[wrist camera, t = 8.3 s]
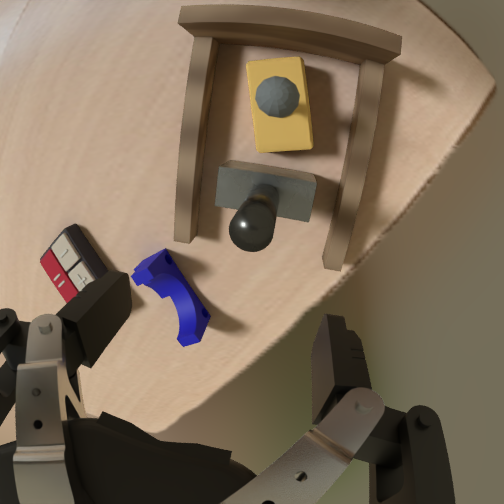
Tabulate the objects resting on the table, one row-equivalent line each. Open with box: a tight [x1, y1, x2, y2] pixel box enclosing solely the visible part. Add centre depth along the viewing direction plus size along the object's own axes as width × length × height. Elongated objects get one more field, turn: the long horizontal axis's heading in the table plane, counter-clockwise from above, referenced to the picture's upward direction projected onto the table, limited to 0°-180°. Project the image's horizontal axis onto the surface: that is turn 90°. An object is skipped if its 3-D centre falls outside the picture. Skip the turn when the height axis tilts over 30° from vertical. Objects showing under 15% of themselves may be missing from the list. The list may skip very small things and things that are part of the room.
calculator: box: [40, 224, 108, 303], centre depth 41 cm, size 11×4×15 cm
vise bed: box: [174, 5, 402, 271], centre depth 27 cm, size 26×20×8 cm
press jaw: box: [215, 160, 317, 252], centre depth 26 cm, size 4×9×14 cm, turn 82°
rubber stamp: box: [246, 57, 314, 153], centre depth 23 cm, size 10×6×12 cm, turn 7°
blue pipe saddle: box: [131, 248, 211, 347], centre depth 38 cm, size 12×4×6 cm, turn 28°
